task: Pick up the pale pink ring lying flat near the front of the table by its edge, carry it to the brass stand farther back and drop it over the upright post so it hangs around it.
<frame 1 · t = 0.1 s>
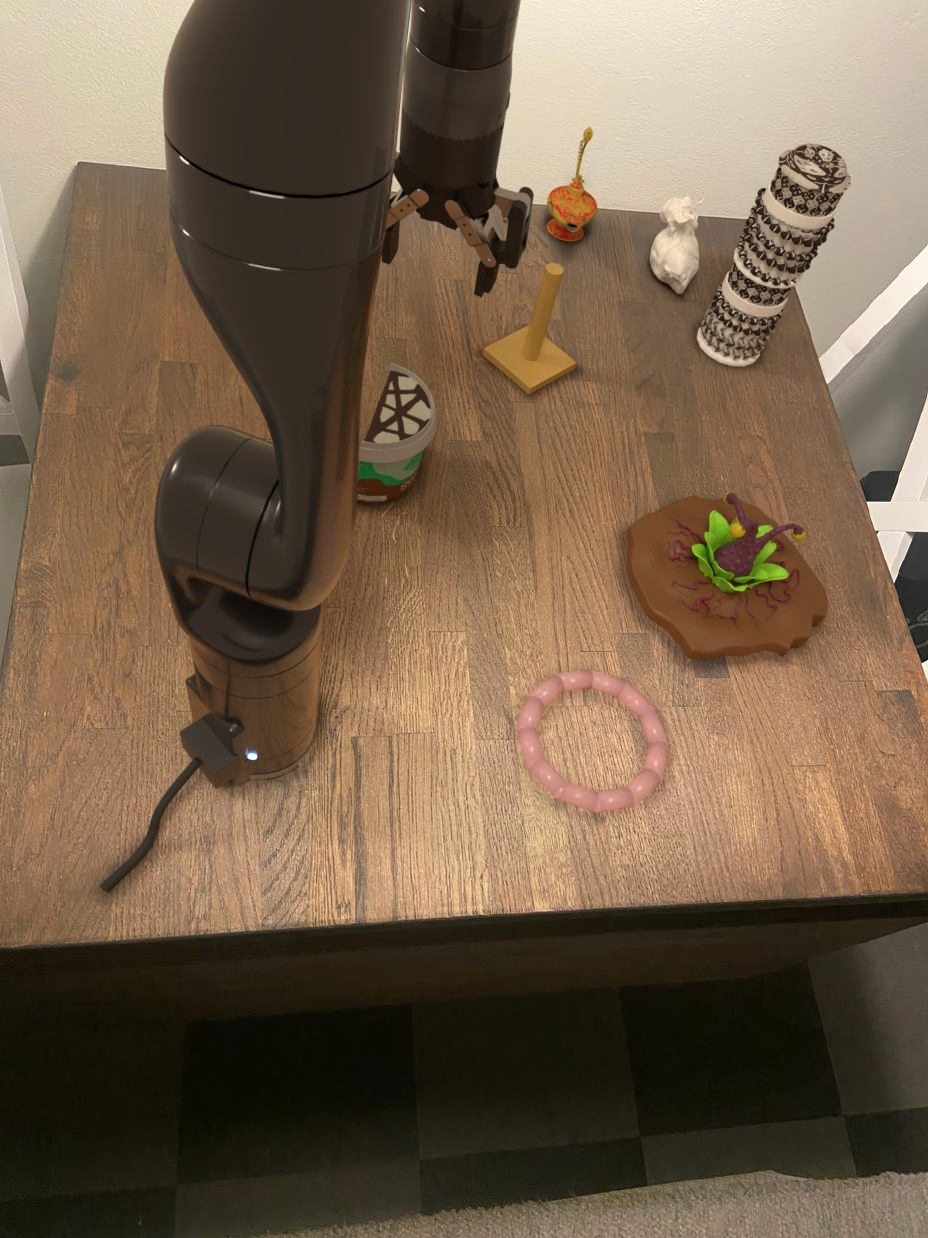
hand: (435, 273, 80), 22 cm above the table, tool pointing down, fingers open, 8 cm apart
plant: (714, 585, 95), on the table
food container: (396, 479, 96), on the table
orange ornate vessel: (563, 238, 124), on the table
ring: (592, 738, 82), point 1 cm above the table
stand: (528, 361, 109), on the table
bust: (666, 274, 124), on the table
decorative candle: (727, 345, 117), on the table
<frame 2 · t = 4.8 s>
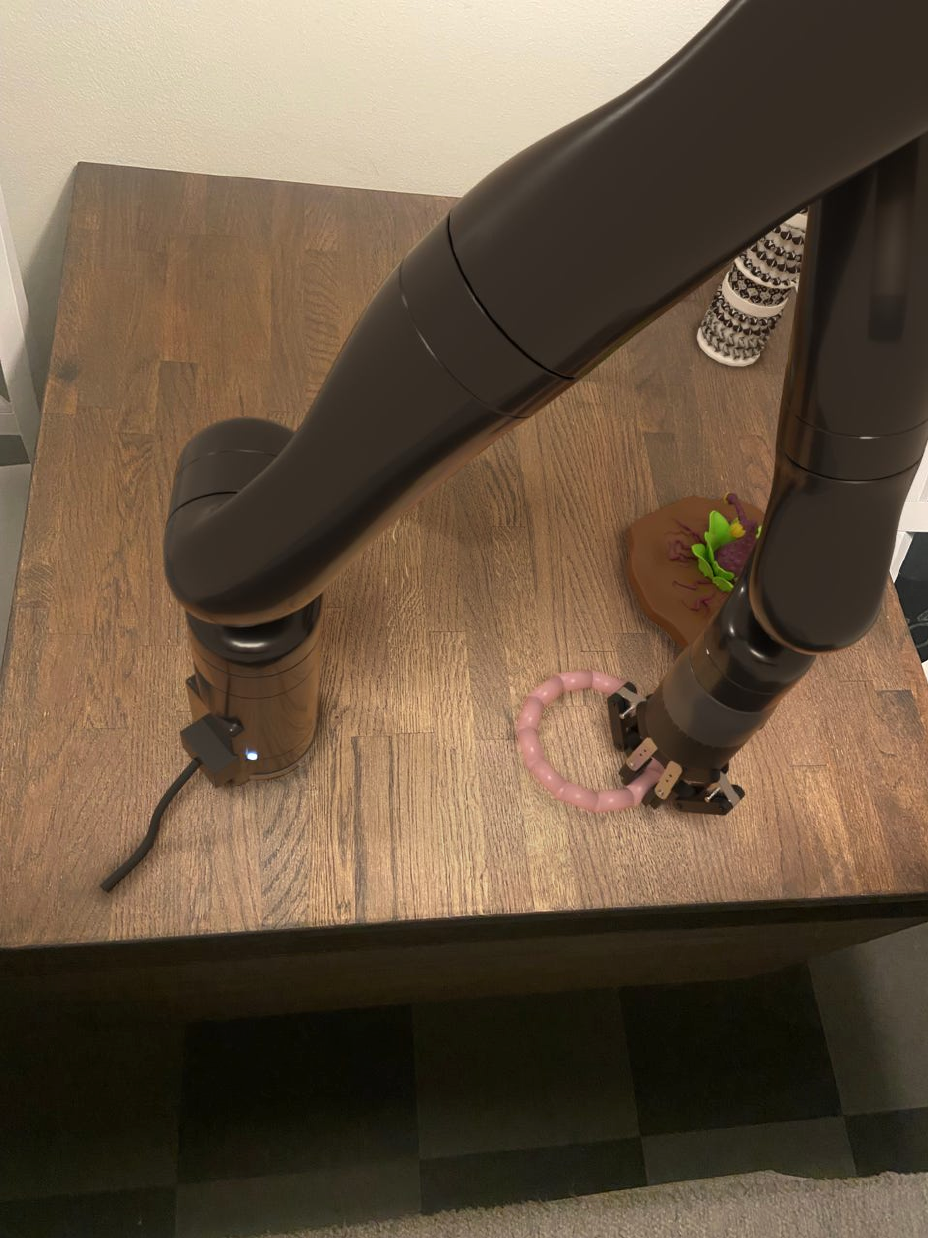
hand: (638, 790, 81), 0 cm above the table, tool pointing down, fingers closed on ring, 2 cm apart
ring: (593, 738, 82), point 1 cm above the table, touching gripper
everything else where it was.
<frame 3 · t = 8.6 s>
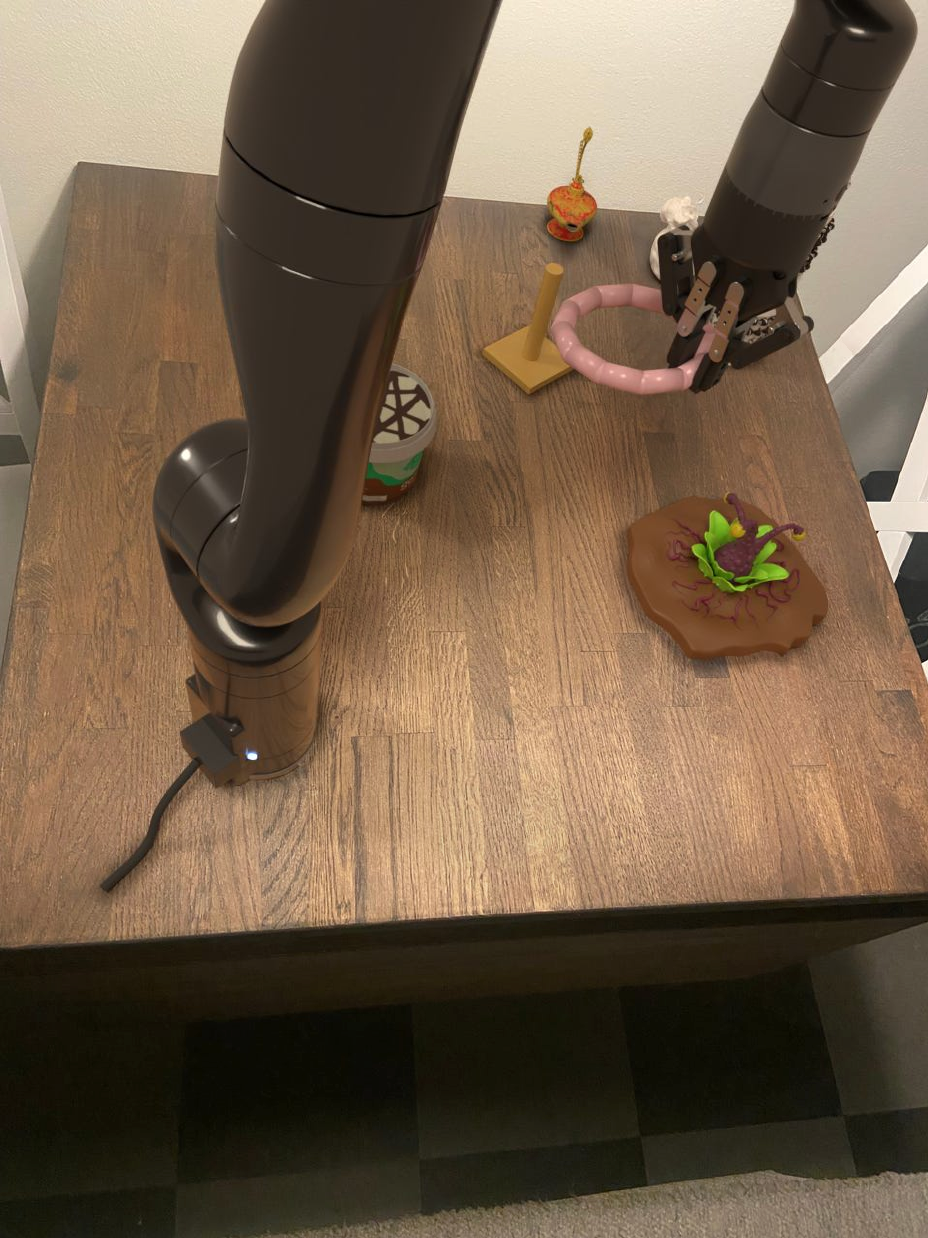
hand: (688, 378, 73), 25 cm above the table, tool pointing down, fingers closed on ring
ring: (635, 336, 75), point 25 cm above the table, tilted 8°, touching gripper
everything else where it was.
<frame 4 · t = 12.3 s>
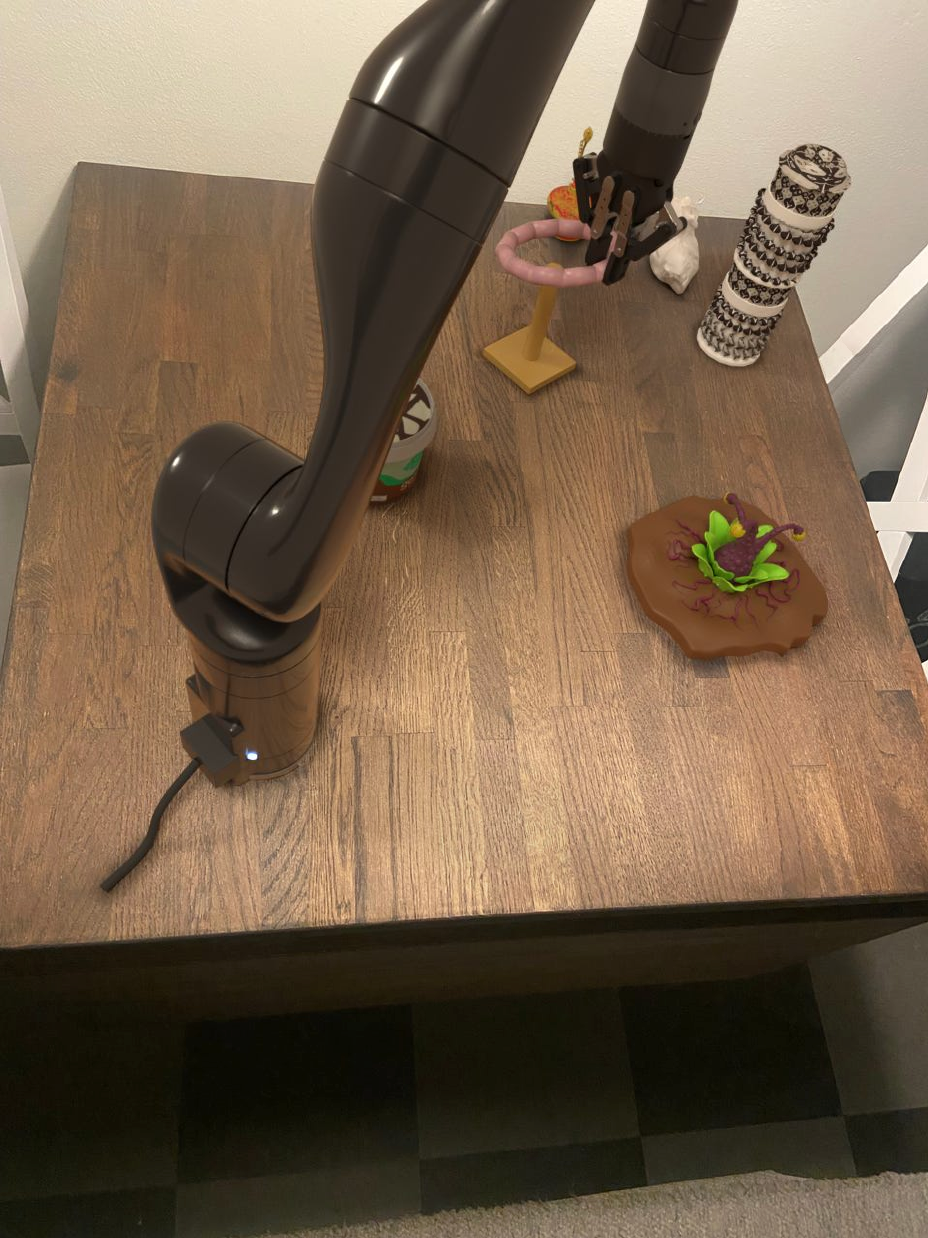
hand: (602, 275, 94), 16 cm above the table, tool pointing down, fingers closed on ring
ring: (561, 251, 97), point 15 cm above the table, tilted 15°, touching gripper
everything else where it was.
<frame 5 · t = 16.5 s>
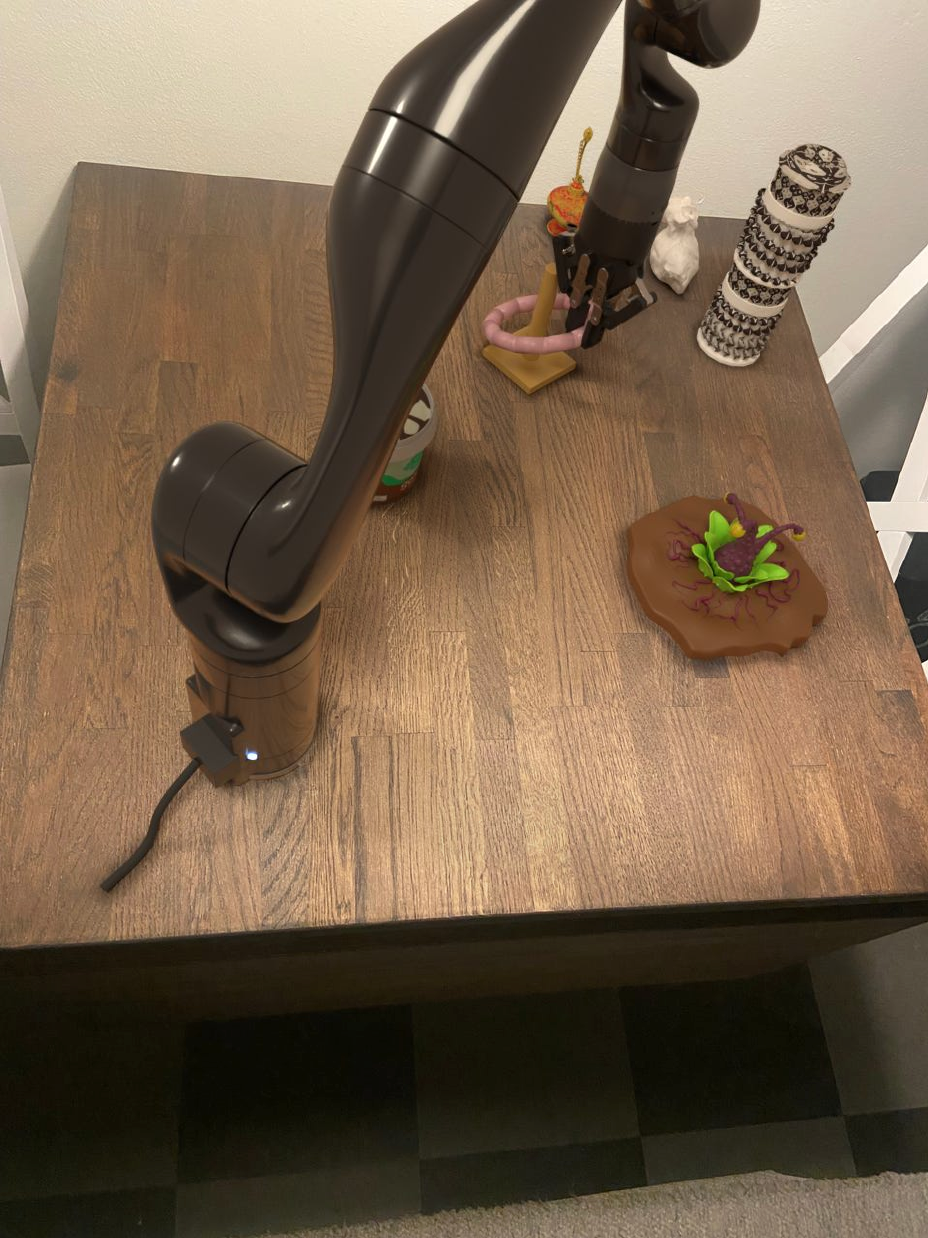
hand: (580, 339, 101), 8 cm above the table, tool pointing down, fingers closed on ring
ring: (543, 322, 104), point 6 cm above the table, tilted 21°, touching gripper
everything else where it was.
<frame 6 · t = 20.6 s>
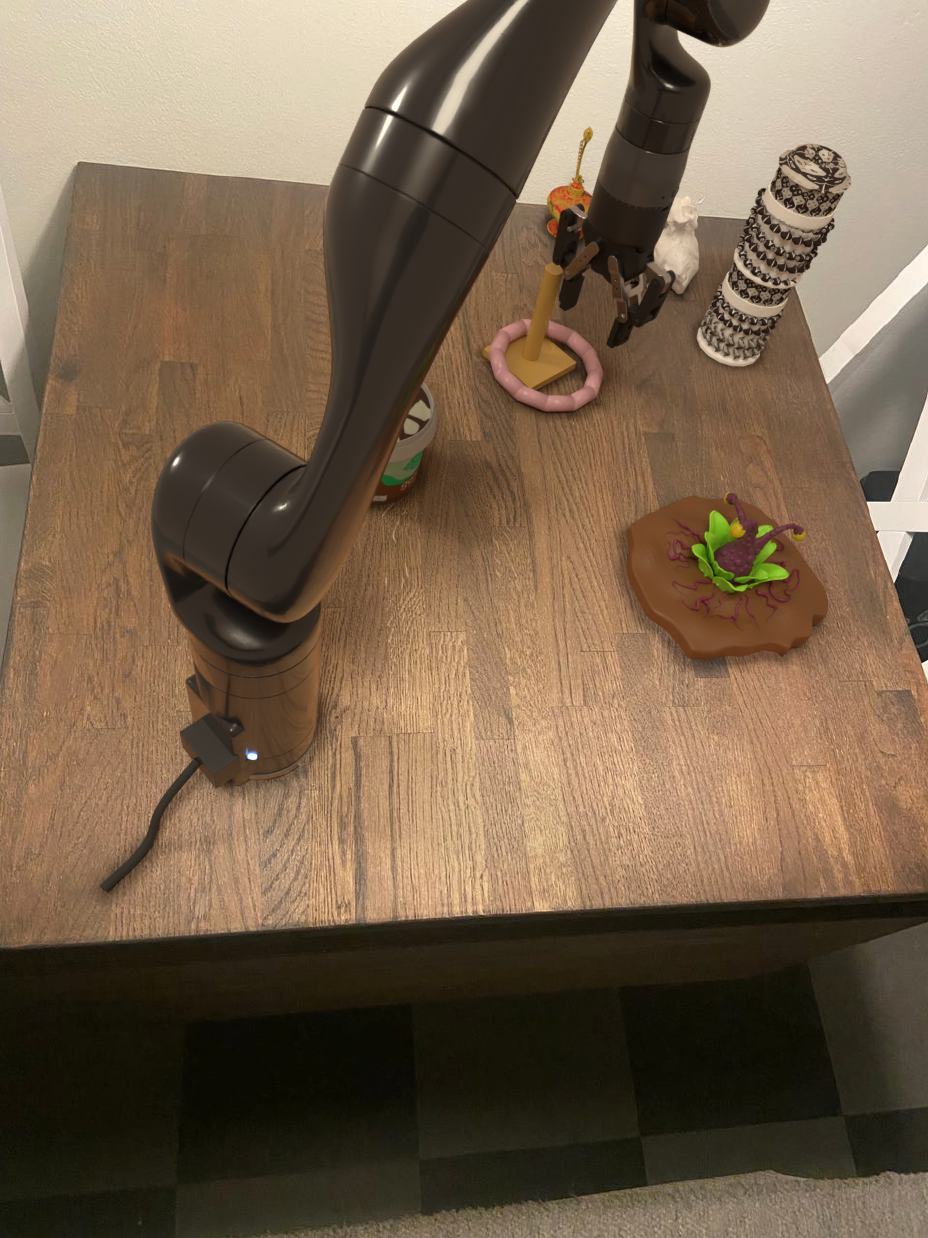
hand: (590, 325, 99), 10 cm above the table, tool pointing down, fingers open, 6 cm apart
ring: (546, 364, 107), point 1 cm above the table, tilted 6°, touching stand
everything else where it was.
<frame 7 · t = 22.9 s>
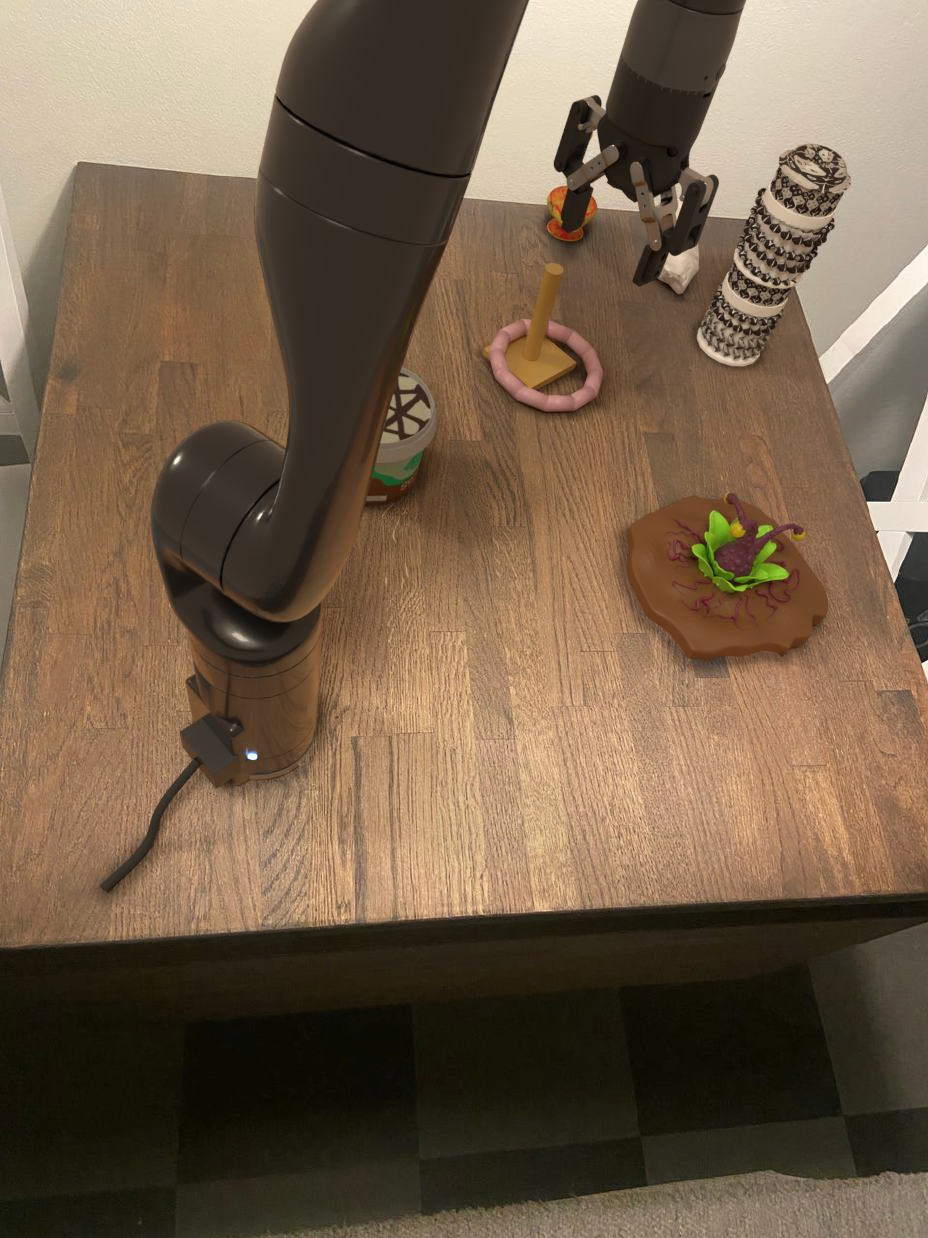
hand: (605, 255, 80), 26 cm above the table, tool pointing down, fingers open, 8 cm apart
nothing on the table moved.
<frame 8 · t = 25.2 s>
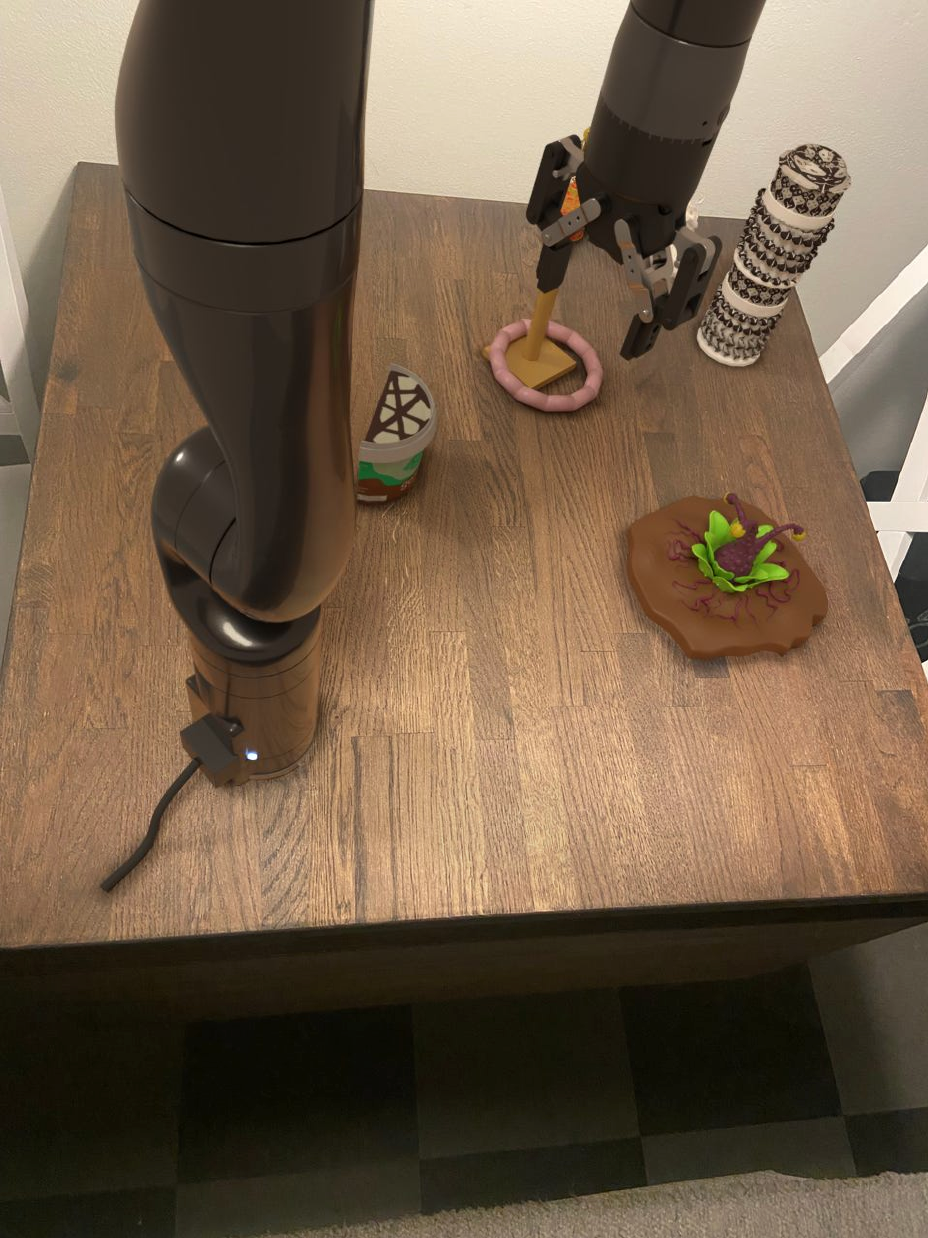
hand: (589, 320, 67), 30 cm above the table, tool pointing down, fingers open, 8 cm apart
nothing on the table moved.
at the end: ring inside the target area on the stand (2.5 cm from its centre), point 1.5 cm above the stand's base; the gripper is holding nothing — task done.
